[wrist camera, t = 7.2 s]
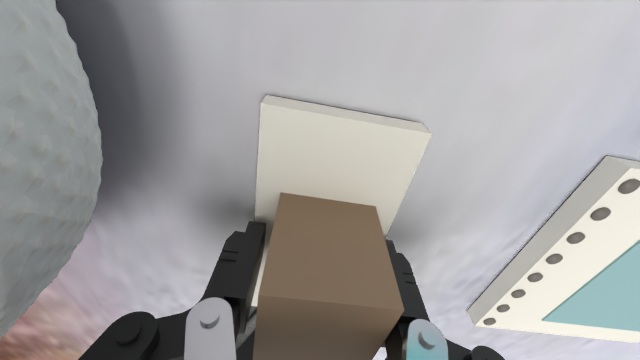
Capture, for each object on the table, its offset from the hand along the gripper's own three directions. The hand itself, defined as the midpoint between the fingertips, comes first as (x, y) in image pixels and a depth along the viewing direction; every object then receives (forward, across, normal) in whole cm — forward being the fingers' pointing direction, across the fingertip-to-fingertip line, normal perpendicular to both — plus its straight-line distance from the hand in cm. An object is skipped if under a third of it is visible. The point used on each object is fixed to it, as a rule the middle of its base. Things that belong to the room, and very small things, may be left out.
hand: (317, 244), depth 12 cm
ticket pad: (+1, -17, 0) cm, 17 cm away
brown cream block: (+1, 0, 0) cm, 1 cm away
